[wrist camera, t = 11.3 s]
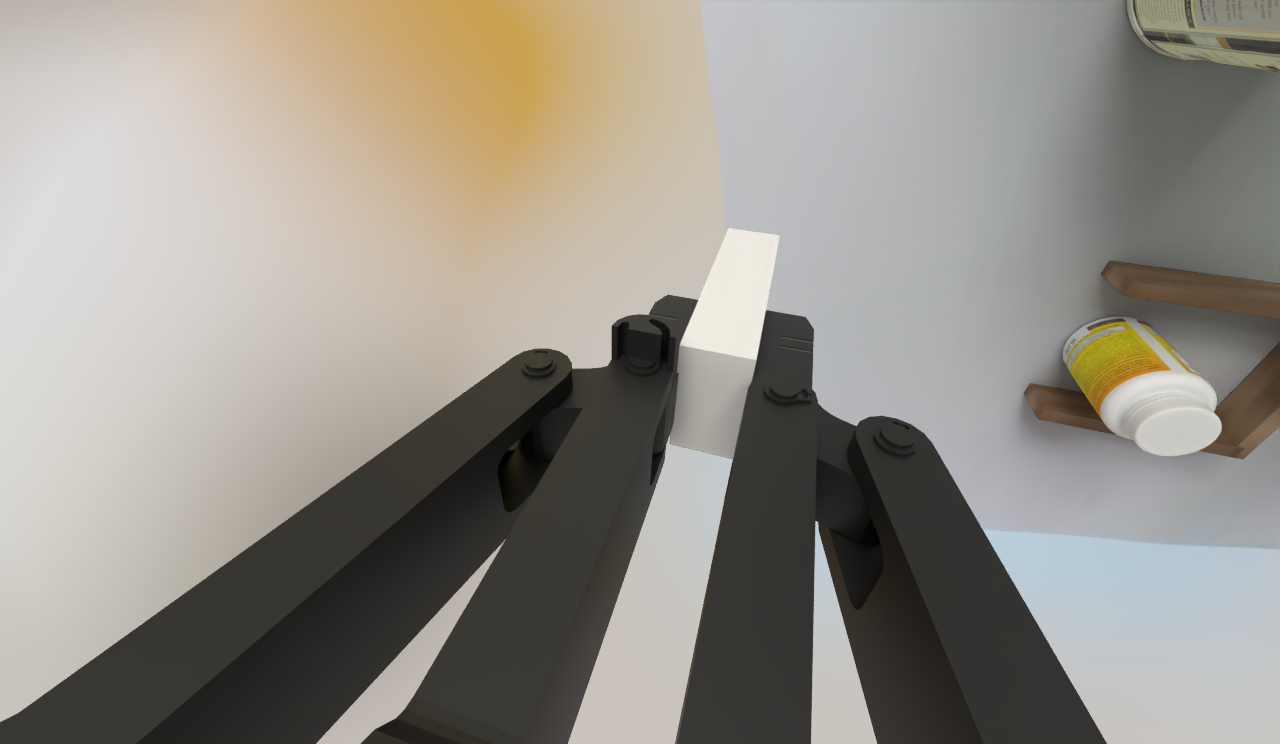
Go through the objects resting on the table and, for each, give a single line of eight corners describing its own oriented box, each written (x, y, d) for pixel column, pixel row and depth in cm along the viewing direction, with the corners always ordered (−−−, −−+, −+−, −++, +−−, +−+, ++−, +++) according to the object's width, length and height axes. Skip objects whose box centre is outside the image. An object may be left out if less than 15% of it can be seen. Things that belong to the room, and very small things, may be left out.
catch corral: (1109, 260, 35) (1133, 282, 32) (1349, 292, 32) (1397, 319, 30) (1024, 392, 42) (1037, 419, 40) (1214, 428, 40) (1242, 459, 37)
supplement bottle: (1044, 365, 41) (1097, 453, 33) (1086, 306, 37) (1156, 387, 29) (1122, 381, 40) (1196, 475, 32) (1173, 321, 36) (1270, 410, 28)
